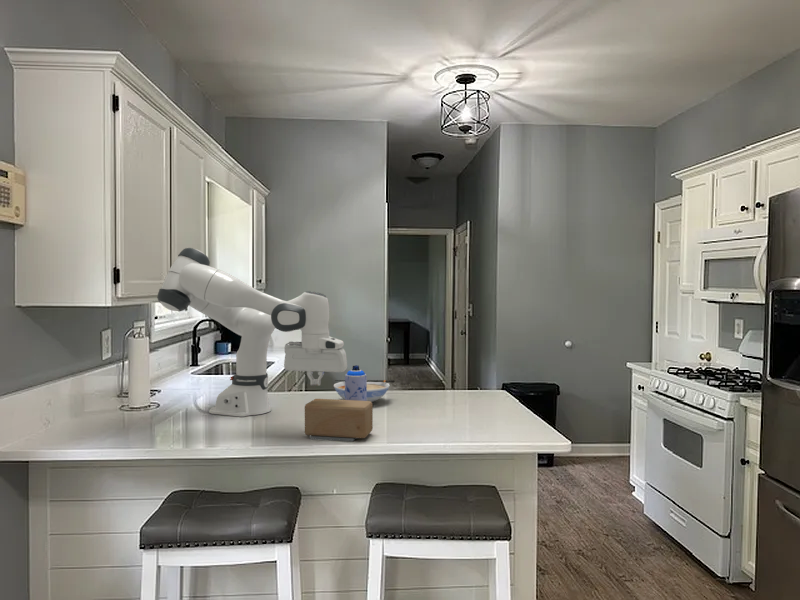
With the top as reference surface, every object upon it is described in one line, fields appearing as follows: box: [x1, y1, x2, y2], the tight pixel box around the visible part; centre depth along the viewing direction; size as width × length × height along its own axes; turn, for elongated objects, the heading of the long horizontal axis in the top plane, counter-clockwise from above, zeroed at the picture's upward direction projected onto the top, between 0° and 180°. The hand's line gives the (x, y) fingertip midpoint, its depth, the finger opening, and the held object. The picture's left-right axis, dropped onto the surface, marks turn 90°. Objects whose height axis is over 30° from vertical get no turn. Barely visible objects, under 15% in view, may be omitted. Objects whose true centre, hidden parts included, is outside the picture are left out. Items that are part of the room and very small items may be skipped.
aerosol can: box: [344, 365, 368, 401], centre depth 203 cm, size 8×8×20 cm
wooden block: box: [304, 398, 374, 439], centre depth 186 cm, size 10×10×20 cm
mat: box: [309, 435, 357, 442], centre depth 186 cm, size 14×11×1 cm
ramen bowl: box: [333, 379, 396, 403], centre depth 236 cm, size 25×23×8 cm
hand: (315, 385), depth 187 cm, fingers closed
